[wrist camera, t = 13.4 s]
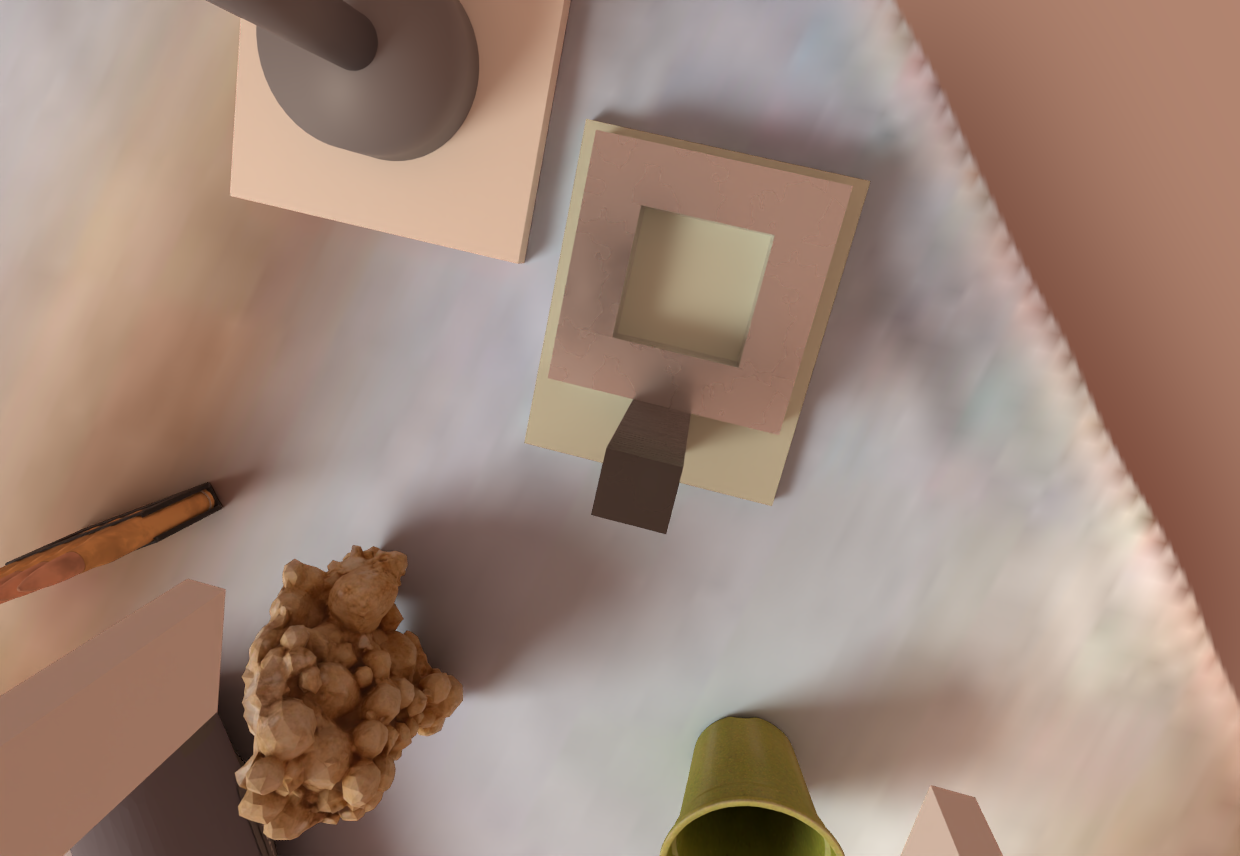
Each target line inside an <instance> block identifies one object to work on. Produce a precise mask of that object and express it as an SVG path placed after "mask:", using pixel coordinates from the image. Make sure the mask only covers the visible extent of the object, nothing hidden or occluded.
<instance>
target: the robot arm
mask: <svg viewBox="0 0 1240 856" xmlns="http://www.w3.org/2000/svg"><path fill="white" fill-rule="evenodd" d="M225 590H226V589H223V588H219V587H215V586H212V585H208V584H205V583H201V582H197V581H194V580H190V579H186V580H185V581H183V582H181V583H180V584H178V585H177V586H175V587H174V588H172V589H170V590H169V591H167V592H166V593H164V594H162V595H161V596H159V597H158V598H156V599H154V600H153V601H151V602H150V603H148V604H146V605H145V606H143V607H142V608H140V609H138V610H137V611H135V612H134V613H132V614H130V615H129V616H127V617H126V618H124V619H122V620H121V621H119V622H118V623H116V624H114V625H113V626H111V627H110V628H108V629H107V630H105V631H103V632H102V633H100V634H99V635H97V636H95V637H94V638H92V639H91V640H89V641H87V642H86V643H84V644H83V645H81V646H79V647H78V648H76V649H75V650H73V651H71V652H70V653H68V654H67V655H65V656H63V657H62V658H60V659H59V660H57V661H55V662H54V663H52V664H51V665H49V666H47V667H46V668H44V669H43V670H41V671H40V672H38V673H36V674H35V675H33V676H32V677H30V678H28V679H27V680H25V681H24V682H22V683H20V684H19V685H17V686H16V687H14V688H12V689H11V690H9V691H8V692H6V693H4V694H3V695H1V696H0V856H63V855H64V854H65V853H66V852H68V851H69V850H70V849H71V848H72V847H73V846H74V845H75V844H76V843H77V842H78V841H79V840H80V839H81V838H83V837H84V836H85V835H86V834H87V833H88V832H89V831H90V830H91V829H92V828H93V827H94V826H95V825H96V824H98V823H99V822H100V821H101V820H102V819H103V818H104V817H105V816H106V815H107V814H108V813H109V812H110V811H111V810H113V809H114V808H115V807H116V806H117V805H118V804H119V803H120V802H121V801H122V800H123V799H124V798H125V797H126V796H128V795H129V794H130V793H131V792H132V791H133V790H134V789H135V788H136V787H137V786H138V785H139V784H140V783H141V782H143V781H144V780H145V779H146V778H147V777H148V776H149V775H150V774H151V773H152V772H153V771H154V770H155V769H156V768H158V767H159V766H160V765H161V764H162V763H163V762H164V761H165V760H166V759H167V758H168V757H169V756H170V755H171V754H173V753H174V752H175V751H176V750H177V749H178V748H179V747H180V746H181V745H182V744H183V743H184V742H185V741H186V740H188V739H189V738H190V737H191V736H192V735H193V734H194V733H195V732H196V731H197V730H198V729H199V728H200V727H201V726H203V725H204V724H205V723H206V722H207V721H208V720H209V719H210V718H211V717H212V716H213V715H214V714H215V713H216V712H217V710H218V695H219V680H220V665H221V650H222V635H223V620H224V605H225ZM901 856H1003V855H1002V853H1001V851H1000V849H999V846H998V844H997V842H996V840H995V838H994V836H993V834H992V832H991V830H990V828H989V826H988V823H987V821H986V819H985V817H984V815H983V813H982V811H981V809H980V807H979V805H978V803H977V801H976V798H975V797H972V796H968V795H964V794H961V793H957V792H954V791H950V790H946V789H943V788H939V787H936V786H932V785H930V788H929V790H928V792H927V795H926V797H925V799H924V802H923V804H922V806H921V809H920V811H919V814H918V816H917V818H916V821H915V823H914V825H913V828H912V830H911V832H910V835H909V837H908V839H907V842H906V844H905V846H904V849H903V851H902V853H901Z"/></svg>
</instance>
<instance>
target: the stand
mask: <svg viewBox="0 0 1240 856" xmlns="http://www.w3.org/2000/svg"><path fill="white" fill-rule="evenodd" d="M206 1H208V2H210V3H212V4H214V5H216V6H218V7H220V8H222V9H224V10H226V11H228V12H230V13H232V14H234V15H236V16H238V17H240V18H241V21H240V37H239V54H238V71H237V87H236V104H235V120H234V137H233V153H232V170H231V186H230V196H233V197H238V198H242V199H246V200H250V201H255V202H259V203H263V204H267V205H272V206H276V207H280V208H284V209H289V210H293V211H297V212H301V213H306V214H310V215H314V216H318V217H322V218H327V219H331V220H335V221H339V222H344V223H348V224H352V225H356V226H361V227H365V228H369V229H373V230H378V231H382V232H386V233H390V234H395V235H399V236H403V237H407V238H411V239H416V240H420V241H424V242H428V243H433V244H437V245H441V246H445V247H450V248H454V249H458V250H462V251H467V252H471V253H475V254H479V255H484V256H488V257H492V258H496V259H501V260H505V261H509V262H513V263H517V264H520V263H524V262H525V256H526V250H527V245H528V239H529V233H530V228H531V222H532V216H533V211H534V205H535V200H536V194H537V188H538V183H539V177H540V171H541V166H542V160H543V154H544V149H545V143H546V138H547V132H548V126H549V121H550V115H551V109H552V104H553V98H554V92H555V87H556V81H557V76H558V70H559V64H560V59H561V53H562V47H563V42H564V36H565V30H566V25H567V19H568V14H569V8H570V2H571V0H206Z"/></svg>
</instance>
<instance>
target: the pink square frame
mask: <svg viewBox="0 0 1240 856" xmlns="http://www.w3.org/2000/svg"><path fill="white" fill-rule="evenodd" d="M852 188H853V186H851V185H846V184H842V183H837V182H832V181H828V180H823V179H819V178H814V177H810V176H805V175H801V174H796V173H791V172H787V171H782V170H778V169H773V168H769V167H764V166H759V165H755V164H750V163H746V162H741V161H737V160H732V159H727V158H723V157H718V156H714V155H709V154H705V153H700V152H696V151H691V150H686V149H682V148H677V147H673V146H668V145H664V144H659V143H654V142H650V141H645V140H641V139H636V138H632V137H627V136H622V135H618V134H613V133H609V132H604V131H600V130H596V132H595V137H594V142H593V147H592V153H591V158H590V163H589V168H588V173H587V178H586V183H585V188H584V194H583V199H582V204H581V209H580V214H579V219H578V224H577V230H576V235H575V240H574V245H573V250H572V255H571V260H570V265H569V271H568V276H567V281H566V286H565V291H564V296H563V301H562V307H561V312H560V317H559V322H558V327H557V332H556V337H555V343H554V348H553V353H552V358H551V363H550V368H549V373H548V378H549V379H553V380H557V381H561V382H565V383H569V384H573V385H577V386H581V387H586V388H590V389H594V390H598V391H602V392H606V393H610V394H614V395H618V396H622V397H626V398H630V399H633V400H632V402H631V404H630V406H629V408H628V409H627V411H626V413H625V415H624V417H623V418H622V420H621V422H620V424H619V426H618V428H617V429H616V431H615V433H614V435H613V437H612V439H611V440H610V442H609V444H608V446H607V448H606V451H605V456H604V460H603V465H602V469H601V474H600V478H599V483H598V487H597V491H596V496H595V500H594V505H593V509H592V514H591V515H594V516H598V517H602V518H606V519H609V520H613V521H617V522H621V523H625V524H629V525H633V526H636V527H640V528H644V529H648V530H652V531H656V532H659V533H663V534H666V532H667V528H668V524H669V521H670V517H671V513H672V509H673V505H674V501H675V498H676V494H677V490H678V486H679V482H680V478H681V474H682V471H683V466H684V459H685V452H686V445H687V438H688V431H689V424H690V417H691V414H695V415H699V416H703V417H707V418H711V419H715V420H719V421H723V422H727V423H732V424H736V425H740V426H744V427H748V428H752V429H756V430H760V431H764V432H768V433H772V434H776V435H779V434H780V430H781V427H782V424H783V420H784V417H785V414H786V410H787V407H788V403H789V400H790V397H791V393H792V390H793V387H794V383H795V380H796V377H797V373H798V370H799V366H800V363H801V360H802V356H803V353H804V350H805V346H806V343H807V339H808V336H809V333H810V329H811V326H812V323H813V319H814V316H815V313H816V309H817V306H818V302H819V299H820V296H821V292H822V289H823V286H824V282H825V279H826V275H827V272H828V269H829V265H830V262H831V259H832V255H833V252H834V248H835V245H836V242H837V238H838V235H839V232H840V228H841V225H842V222H843V218H844V215H845V211H846V208H847V205H848V201H849V198H850V195H851V191H852ZM645 208H649V209H653V210H658V211H662V212H666V213H671V214H675V215H680V216H684V217H689V218H693V219H697V220H702V221H706V222H711V223H715V224H720V225H724V226H728V227H733V228H737V229H742V230H746V231H750V232H755V233H759V234H764V235H768V236H771V239H770V243H769V247H768V250H767V254H766V258H765V261H764V265H763V269H762V272H761V276H760V280H759V283H758V287H757V291H756V295H755V298H754V302H753V306H752V309H751V313H750V317H749V320H748V324H747V328H746V331H745V335H744V339H743V343H742V346H741V350H740V354H739V357H738V361H733V360H729V359H724V358H720V357H716V356H712V355H708V354H704V353H699V352H695V351H691V350H687V349H683V348H679V347H674V346H670V345H666V344H662V343H658V342H654V341H649V340H645V339H641V338H637V337H633V336H629V335H624V334H620V333H618V329H619V325H620V320H621V316H622V311H623V306H624V302H625V297H626V293H627V288H628V284H629V279H630V275H631V270H632V265H633V261H634V256H635V252H636V247H637V243H638V238H639V234H640V229H641V224H642V220H643V215H644V211H645Z"/></svg>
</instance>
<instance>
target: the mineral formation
mask: <svg viewBox="0 0 1240 856" xmlns="http://www.w3.org/2000/svg"><path fill="white" fill-rule="evenodd" d="M407 566H408V563H407V555H405V554H403V553H401V552H398V551H392V552H385V551H381V550H380V549H379V548H377V547H374V546H373V547H371V548H370V549H368V550H366V551H362V549H361V547H360V546H355V545H353V546H352V550H351V553H348V554H347V555H346V556H345V557H344V558H343V561H342V562H337V561H334V560H332V562H331V563H330V564H329V565H328V566H327V567H328V570H329V571H328V572H324V571H322V570H321V569H319V568H317V567H313V566H310V565H306V564H303V563H301V562H300V561H298V560H296V559H293V560H292V561H291V562H289V563H288V564H286V565H285V567H284V570H283V584H284V586H283V588H282V589H281V591H280V592H279V594H278V597H277V598H276V599H275V600H274V602H273V603H272V605H271V608H270V611H269V612H270V615H271V619H270V621H269V623H268V624H267V625H266V626H264V627H263V628H262V629H261V631H260V632H259V633H258V634H257V635H256V638H255V640H254V642H253V643H252V645H251V647H250V649H249V657H250V659H249V662H248V664H247V666H246V670H245V672H244V674H243V675H242V679H243V681H244V682H245V684H246V685H245V690H244V698H243V701H242V704H243V706H244V709H245V711H244V716H243V717H244V718H245V720H246V722H247V724H248V727H249V731H250V732H251V733H252V734H253V735H254V736H255V737H254V744H253V755H252V756H251V758H250V759H249V760H248V761H247V762H246V764H245V765H244V766H242V767H241V768H240V769H239V770H238V771H236V772H235V776H236V780H237V783H238V785H239V787H242V788H244V789H246V790H247V791H246V794H245V796H244V797H243V799H242V801H241V802H240V804H239V806H238V810H239V816H241V817H243V818H246V819H248V820H251V821H254V822H258V823H262V824H264V831H263V833H264V834H265V835H266V836H267V837H269V838H271V839H274V840H292V839H294V838H297V837H299V836H300V835H301V834H302V833H303V832H304V831H306V830H307V829H309V828H311V827H312V826H314V825H316V824H317V823H320V822H323V823H326V824H336V825H337V823H338V821H339V819H340V817H341V818H342V820H345V821H358V820H359V819H360V818H362V817H363V816H364V814H365V812H368V811H371V810H373V809H374V808H375V807H376V806H377V804H378V803H379V802H380V801H381V799H382V796H383V792H384V791H386V790H387V789H389V788H390V786H391V784H392V782H393V780H394V776H395V764H394V760H398V759H399V758H400V757H401V754H402V749H404V748H406V747H407V746H408V745H409V744H410V743H412V741H411V738H413V737H414V736H415V735H416V734H417V732H418V734H419V735H423V736H430V735H433V734H435V733H437V732H438V731H440V730H441V729H442V727H443V724H444V721H445V718H446V717H450V716H451V714H452V713H453V712H454V710H455V709H456V708H457V707H458V706H459V705H460V703H461V702H462V701H463V686H462V684H461V683H460V682H459V681H458V680H457V679H456V678H455V677H454V676H453V675H447V673H441V671H440V669H439V668H438V669H432V668H431V666H430V665H429V664H428V662H427V656H426V654H424V652H423V649H422V647H421V644H420V641H419V638H418V636H416V635H415V634H413V633H412V632H410V631H406V632H405V633H404V634H402V633H400V632H398V631H395V630H396V629H397V627H398V626H399V624H400V622H401V621H402V620H403V619H404V618H403V617H402V615H401V613H400V612H399V610H398V608H397V606H396V604H394V602H395V599H396V597H397V593H398V586H401V581H400V577H401V576H404V575H405V573H406V571H405V569H406V568H407Z"/></svg>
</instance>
